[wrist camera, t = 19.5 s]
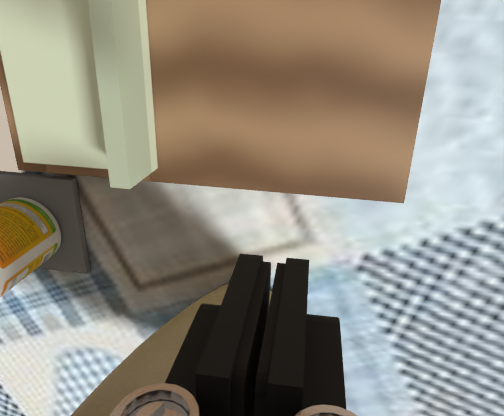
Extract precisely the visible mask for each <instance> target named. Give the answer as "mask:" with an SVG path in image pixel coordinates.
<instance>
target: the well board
mask: <svg viewBox="0 0 504 416" xmlns="http://www.w3.org/2000/svg"><path fill="white" fill-rule="evenodd" d="M440 3H441V0H146V11H147V24H148V38H149V52H150V66H151V80H152V94H153V108H154V121H155V135H156V149H157V163H158V168H157V169H156V170H155V171H153V172H152V173H151V174H149V175H148V176H147V177H146V178H144V179H143V180H142V181H153V182H165V183H176V184H188V185H199V186H211V187H223V188H234V189H246V190H257V191H269V192H281V193H292V194H304V195H315V196H327V197H339V198H350V199H362V200H374V201H385V202H397V203H404V199H405V194H406V189H407V183H408V178H409V172H410V167H411V161H412V156H413V150H414V145H415V140H416V134H417V129H418V123H419V118H420V112H421V107H422V101H423V96H424V91H425V85H426V80H427V74H428V69H429V63H430V58H431V52H432V47H433V42H434V36H435V31H436V25H437V20H438V14H439V9H440ZM0 86H1V90H2V95H3V100H4V104H5V109H6V114H7V118H8V123H9V127H10V132H11V137H12V142H13V147H14V151H15V156H16V161H17V165H18V170H25V171H37V172H49V173H60V174H72V175H83V176H95V177H107V178H109V172H108V169H100V168H88V167H75V166H63V165H51V164H39V163H27V162H23V157H22V153H21V148H20V143H19V138H18V133H17V128H16V124H15V119H14V114H13V109H12V104H11V100H10V95H9V90H8V85H7V80H6V75H5V71H4V66H3V61H2V56H1V51H0Z"/></svg>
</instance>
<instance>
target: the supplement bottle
mask: <svg viewBox="0 0 504 416" xmlns="http://www.w3.org/2000/svg"><path fill="white" fill-rule="evenodd" d="M60 243H61V231H60V227H59V225H58V222H57V220H56V219H55V217H54V216H53V214H52V213H51V212H50V211H49V210H48V209H47V208H46V207H45V206H43V205H42V204H41V203H39V202H37V201H35V200H32V199H29V198H23V197H18V198H12V199H9V200H7V201H5V202H3V203H1V204H0V297H1V296H2V295H3V294H5V293H6V292H7V291H8V290H10V289H11V288H12V287H13V286H15V285H16V284H17V283H18V282H20V281H21V280H22V279H24V278H25V277H26V276H27V275H29V274H30V273H31V272H32V271H34V270H35V269H36V268H37V267H39V266H40V265H41V264H43V263H44V262H45V261H46V260H48V259H49V258H50V257H51V256H52V255H53V254H54V253H55V252H56V251H57V250H58V248H59V246H60Z"/></svg>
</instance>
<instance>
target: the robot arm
mask: <svg viewBox="0 0 504 416" xmlns="http://www.w3.org/2000/svg"><path fill="white" fill-rule="evenodd" d="M308 273H309V260H305V259H293V258H287V259H286V264H283V263H277V268H276V273H275V278H274V284H273V289H272V294H271V300H270V277H271V262H263V256H259V255H248V254H240V256H239V258H238V261H237V263H236V266H235V269H234V271H233V274H232V277H231V279H230V282H229V285H228V287H227V290H226V293H225V295H224V298H223V301H222V303H221V305H215V304H205V303H203V304H201V305H200V307H199V308H198V311H197V313H196V315H195V317H194V319H193V322H192V324H191V326H190V328H189V330H188V333H187V335H186V337H185V339H184V341H183V344H182V346H181V348H180V350H179V352H178V355H177V357H176V359H175V361H174V363H173V366H172V368H171V370H170V372H169V374H168V377H167V379H166V381H165V383H159V384H150V385H147V386H145V387H142V388H139V389H137V390H135V391H133V392H132V393H130V394H129V395H127V396H126V397H125V398H124V399H123V400H122V401H121V402H120V403H119V404H118V405H117V406H116V407H115V408H114V410H113V411H112V412H111V414H110V415H109V416H357V415H355V414H354V413H352V412H351V411H348V410H346V399H345V386H344V373H343V359H342V346H341V333H340V321H339V318H338V317H328V316H319V315H309V314H307V295H308ZM269 302H270V305H269Z"/></svg>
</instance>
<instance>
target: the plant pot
mask: <svg viewBox="0 0 504 416" xmlns="http://www.w3.org/2000/svg"><path fill="white" fill-rule="evenodd" d="M228 285H229V284H225V285H223V286H220V287H219V288H217V289H215V290H213V291H212V292H210V293H208V294H206V295H205V296H203V297H201V298H200V299H198V300H197V301H195V302H194V303H192V304H191V305H190V306H188V307H187V308H185V309H184V310H182V311H181V312H180V313H179V314H177V315H176V316H175V317H173V318H172V319H171V320H169V321H168V322H167V323H166V324H164V325H163V326H162V327H161V328H160V329H158V330H157V331H156V332H155V333H154V334H152V335H151V336H150V337H149V338H148V339H147V340H145V341H144V342H143V343H142V344H141V345H140V346H139V347H138V348H136V349H135V350H134V351H133V352H132V353H131V354H130V355H129V356H128V357H127V358H126V359H125V360H124V361H123V362H122V363H121V364H120V365H119V366H118V367H117V368H116V369H115V370H114V371H112V372H111V373H110V374H109V375H108V376H107V377H106V378H105V380H104V381H103V382H102V383H101V384H100V385H99V386H98V387H97V388H96V389H95V390H94V391H93V392H92V393H91V394H90V395H89V396H88V397H87V399H86V400H85V401H84V402H83V403H82V404H81V405H80V406H79V407H78V408H77V409H76V410H75V411H74V413H73V414H72V415H71V416H109V415H110V414H111V412H112V411H113V410H114V408H115V407H116V406H117V405H118V404H119V403H120V402H121V401H122V400H123V399H124V398H125V397H126V396H127V395H129V394H130V393H132V392H133V391H135V390H137V389H139V388H142V387H145V386H147V385H150V384H159V383H165V381H166V379H167V377H168V374H169V372H170V370H171V368H172V366H173V363H174V361H175V359H176V357H177V355H178V352H179V350H180V348H181V346H182V344H183V341H184V339H185V337H186V335H187V333H188V330H189V328H190V326H191V324H192V322H193V319H194V317H195V315H196V313H197V311H198V308H199V307H200V305H201V304H203V303H205V304H215V305H221V303H222V301H223V298H224V295H225V293H226V290H227V287H228ZM271 294H272V291H270V300H271ZM269 305H270V302H269Z"/></svg>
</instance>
